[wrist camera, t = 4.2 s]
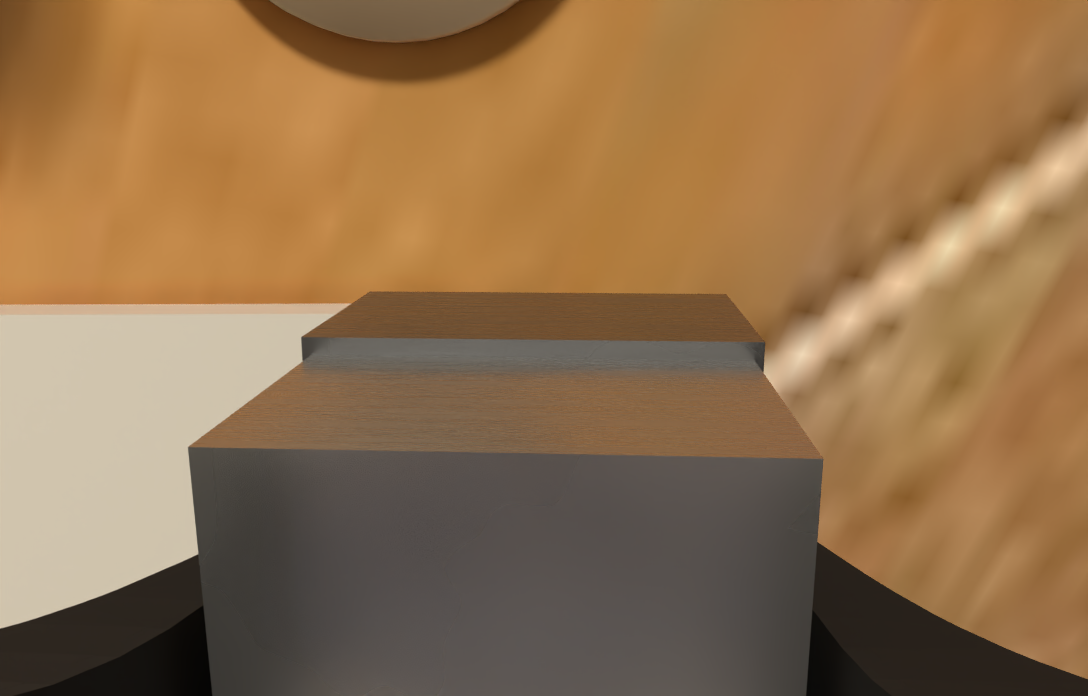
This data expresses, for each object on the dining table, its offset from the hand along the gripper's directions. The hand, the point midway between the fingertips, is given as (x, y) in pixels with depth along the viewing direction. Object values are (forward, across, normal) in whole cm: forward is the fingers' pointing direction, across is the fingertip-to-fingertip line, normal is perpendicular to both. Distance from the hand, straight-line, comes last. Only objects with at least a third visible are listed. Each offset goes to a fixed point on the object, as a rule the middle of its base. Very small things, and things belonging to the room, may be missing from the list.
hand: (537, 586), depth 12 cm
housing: (+2, 0, 0) cm, 2 cm away
